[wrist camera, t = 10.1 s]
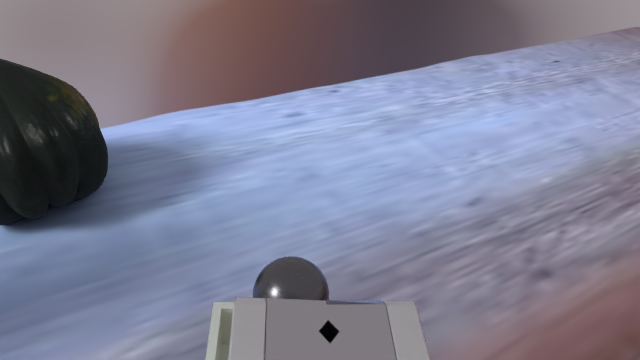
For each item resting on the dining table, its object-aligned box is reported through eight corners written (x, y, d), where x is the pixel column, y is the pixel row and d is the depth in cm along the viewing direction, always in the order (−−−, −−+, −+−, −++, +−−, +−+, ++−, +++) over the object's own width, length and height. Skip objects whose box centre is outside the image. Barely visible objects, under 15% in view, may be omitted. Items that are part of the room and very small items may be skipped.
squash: (122, 192, 48) (79, 26, 48) (-83, 238, 42) (-128, 49, 42) (117, 208, 61) (84, 77, 61) (-39, 245, 55) (-74, 99, 56)
